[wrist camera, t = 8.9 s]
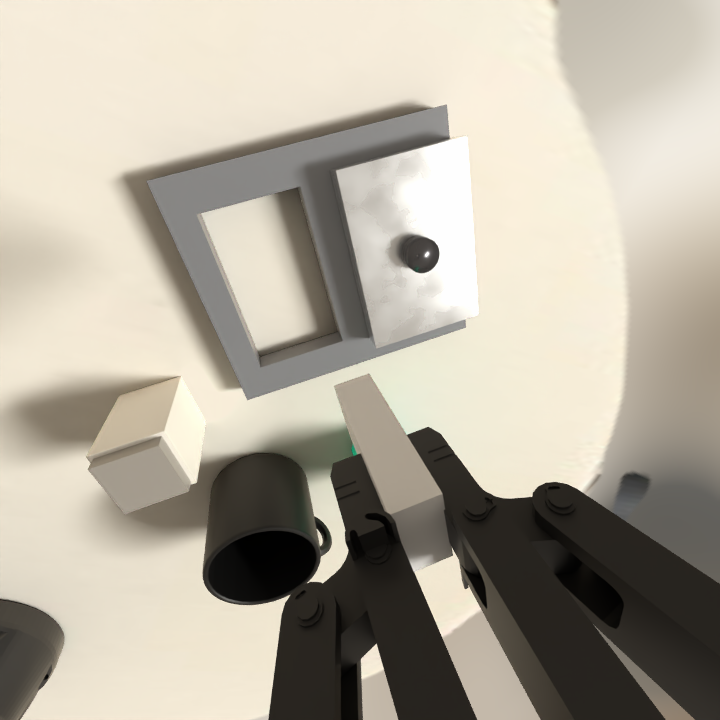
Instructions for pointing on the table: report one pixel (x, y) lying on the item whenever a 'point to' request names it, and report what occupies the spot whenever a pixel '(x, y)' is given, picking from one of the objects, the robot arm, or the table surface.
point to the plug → (149, 446)
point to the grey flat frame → (313, 178)
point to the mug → (261, 531)
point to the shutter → (410, 238)
